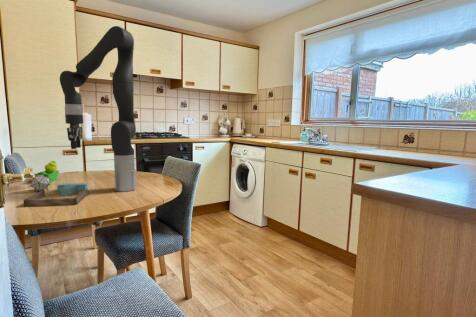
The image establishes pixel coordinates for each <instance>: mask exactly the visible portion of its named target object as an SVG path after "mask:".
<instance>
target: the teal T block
mask: <svg viewBox="0 0 476 317" xmlns="http://www.w3.org/2000/svg"><path fill="white" fill-rule="evenodd" d="M56 189H57V190H56V191H57V192H59V193H60V195H61V196H72V195H73V194H74V193H76V192H82V191H84V190H85V189H88V190H89V184H88V182H75V183H74V182H71V183H70V182H69V183H59V184H57V185H56Z"/></svg>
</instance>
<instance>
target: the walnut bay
mask: <svg viewBox="0 0 476 317" xmlns="http://www.w3.org/2000/svg"><path fill="white" fill-rule="evenodd" d="M45 196H46V192H45V190H41V191H40V192H36V193H34V194H32V195H31V196H29V197H27V198H25V199H23V200H22V201H23V207H25V208H26V207H49V206H73V205H74V206H75V205H78V204H79V203H80V202H81V201H83V200H84V199H85V198H86V197H87V196H89V188H88V189H85V190H84V191H80V193H79V194H77V195H76V196H75V197H62V198H56V197H55V198H44V197H45Z"/></svg>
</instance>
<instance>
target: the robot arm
mask: <svg viewBox="0 0 476 317" xmlns="http://www.w3.org/2000/svg"><path fill="white" fill-rule="evenodd" d="M134 47H135V41H134V35H133V34H132V33H131V32H130V31H128V30H127V29H124V28H123V27H122V26H118V25H114V26H112V27H110V28H109V29H108V30H107V31H106V32H105V33H104V35H103V36H102V37H101V38H100V40H99V41H98V42H97V44H96V45H95V46H94V47H93V49H92V50H91V51H90V52H89V53H88V54H86V56H84V57H82V59H80V61H78V62H77V63H76V64H75V69H76V71H70V70H63V71H61V73H60V76H59V84H60V87H61V90H62V92H63V95H64V118H65V124H67V125H69V127H67V128H66V132H67V140H68V141H69V142H70V149H71V150H76V149H79V148H81V147H82V146H81V145H82V143H81V141H82V139H83V127H82V126H80V125H81V124H84V115H83V112H84V111H83V110H84V109H83V105H82V95H81V92H78V91H77V90H76V88H79V87H81V86H84V84H85V83H86V81H87V80H88V78H89V77H90V75H92V74H93V73H94V72H95V71H97V70H98V69H99V68H100V67H101V66H102V64H103V62H104V59H105V57H106V56H107V55H109V53H110V52H111V51H113V50H115V49H116V50H117V64H116V66H115V69H114V71H113V73H112V79H111V81H112V82H111V84H112V85H111V86H112V95H113V98H114V101H115V104H116V106H117V110H118V112H117V113H118V121H116V122H114V123H113V124H112V125H111V127H110V142H111V148H112V152H113V162H114V163H113V165H114V166H113V167H114V168H113V169H114V190H115V191H116V192H129V191H135V190H136V189H137V174H136V173H137V171H136V170H137V169H136V164H135V162H136V160H135V149H134V148H133V146H132V139H133V138H134V137H135V136H136V133H137V127H136V121H135V112H134V111H135V110H134V109H135V108H134V104H135V103H134V101H135V100H134V99H135V98H134V65H133V64H134V63H133V62H134V61H133V60H134V50H135V48H134Z"/></svg>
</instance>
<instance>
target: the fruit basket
mask: <svg viewBox="0 0 476 317" xmlns="http://www.w3.org/2000/svg"><path fill="white" fill-rule="evenodd" d="M57 165H58V164H57V162H56V161H55V160H51V161H50V162H48V163H47V164H46V165H45V166H44V169H45V170H43V171H40V172H36V173H33V176H34V175H35V176H38V175H40V173H41V175H43V176H45V175H46V177H47V178H48V179H51V180H50V181H49V184H50V183H52V182H55V181H57V179H58V176H59V173H60V170H57V169H58V167H57Z"/></svg>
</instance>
